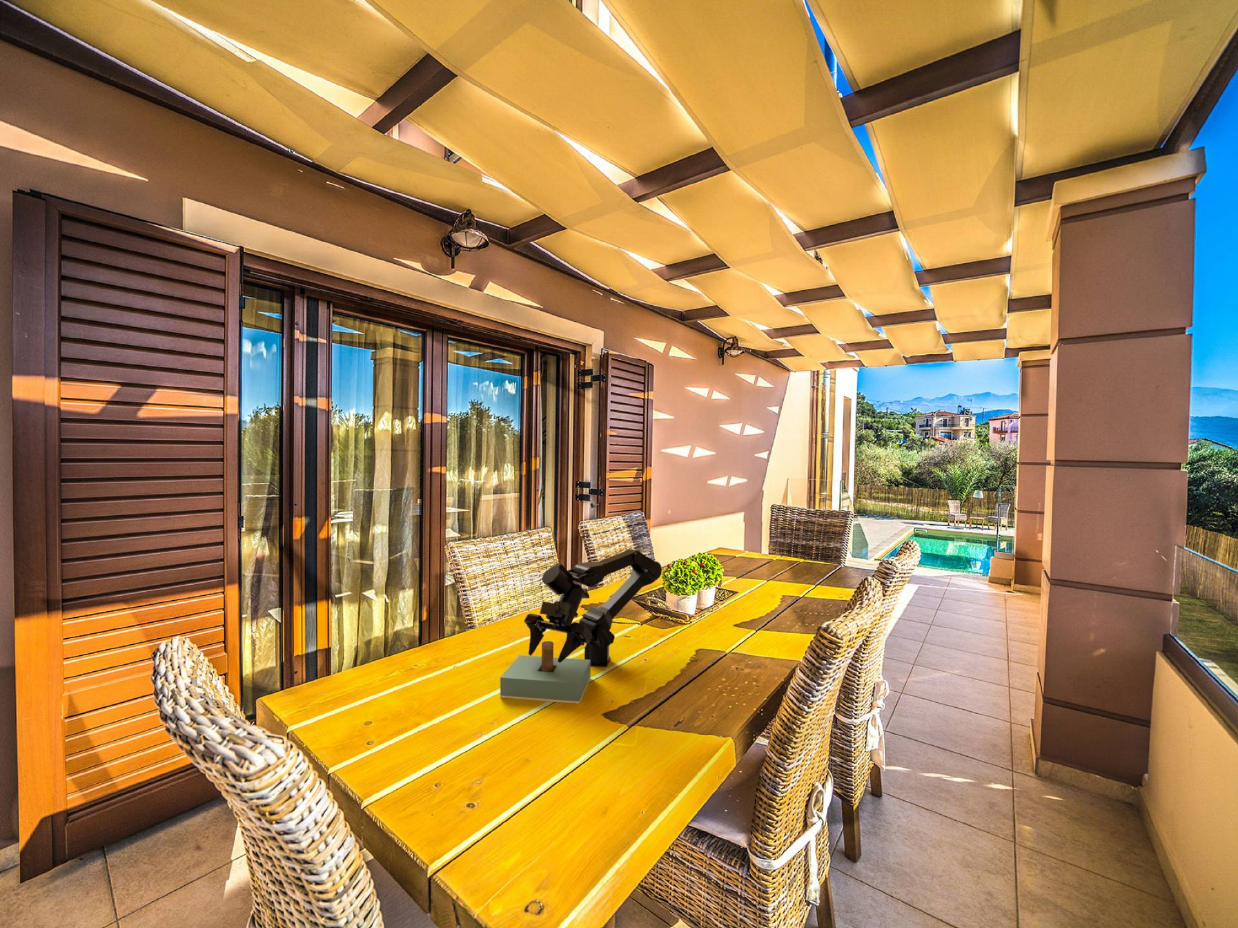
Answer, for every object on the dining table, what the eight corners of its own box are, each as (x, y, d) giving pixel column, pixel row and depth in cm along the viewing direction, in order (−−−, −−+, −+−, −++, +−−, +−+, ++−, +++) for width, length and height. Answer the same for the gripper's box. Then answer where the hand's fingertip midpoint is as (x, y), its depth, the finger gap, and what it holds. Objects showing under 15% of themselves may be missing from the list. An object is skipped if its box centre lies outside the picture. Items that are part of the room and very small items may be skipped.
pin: (554, 683, 132) (554, 641, 132) (551, 688, 129) (551, 645, 129) (543, 682, 133) (543, 640, 132) (540, 687, 130) (540, 645, 129)
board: (590, 678, 136) (590, 659, 136) (579, 703, 122) (579, 683, 122) (519, 672, 139) (519, 654, 139) (500, 697, 125) (500, 677, 125)
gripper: (528, 583, 138) (500, 636, 129) (586, 593, 129) (561, 650, 120) (545, 604, 145) (520, 656, 136) (601, 615, 136) (579, 671, 127)
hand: (544, 658), depth 129 cm, fingers open, 9 cm apart
